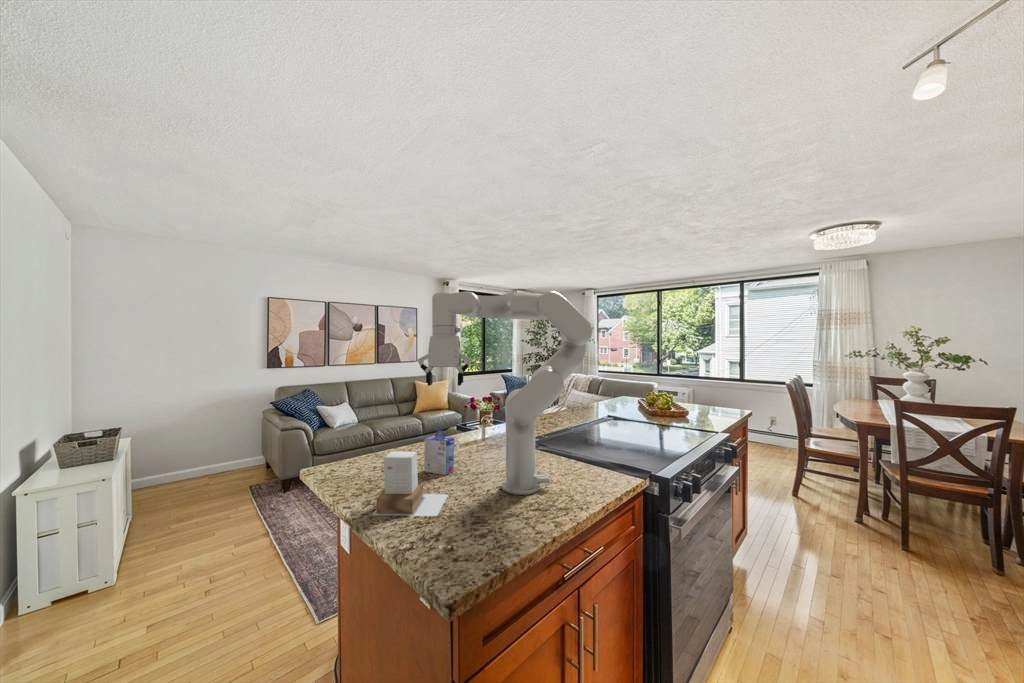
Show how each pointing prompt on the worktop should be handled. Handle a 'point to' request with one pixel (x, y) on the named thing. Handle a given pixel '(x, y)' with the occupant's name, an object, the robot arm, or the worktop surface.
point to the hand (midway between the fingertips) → (444, 385)
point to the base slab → (399, 502)
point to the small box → (400, 472)
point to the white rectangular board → (425, 506)
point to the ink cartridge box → (439, 454)
